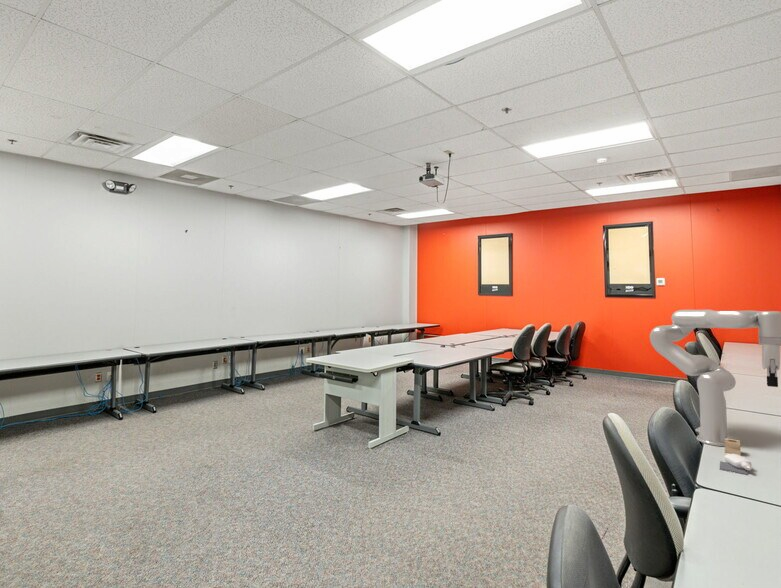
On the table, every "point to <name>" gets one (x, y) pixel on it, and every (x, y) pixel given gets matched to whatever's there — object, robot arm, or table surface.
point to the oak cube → (732, 446)
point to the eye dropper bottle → (738, 461)
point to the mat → (732, 468)
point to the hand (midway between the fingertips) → (772, 386)
